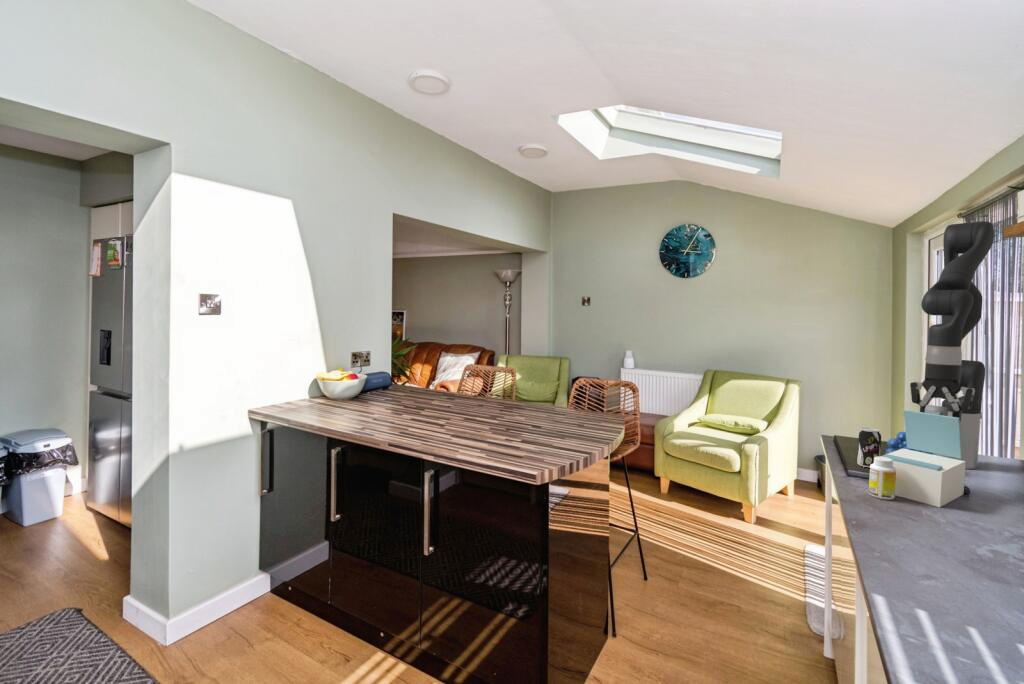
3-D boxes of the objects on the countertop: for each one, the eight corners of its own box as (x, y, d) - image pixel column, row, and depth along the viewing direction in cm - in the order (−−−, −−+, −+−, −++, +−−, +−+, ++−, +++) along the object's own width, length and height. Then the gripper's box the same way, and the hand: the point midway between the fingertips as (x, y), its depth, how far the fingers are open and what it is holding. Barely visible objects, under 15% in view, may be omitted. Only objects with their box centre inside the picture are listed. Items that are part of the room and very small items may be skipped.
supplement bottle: (897, 496, 130) (899, 459, 129) (891, 502, 127) (893, 463, 126) (872, 490, 135) (874, 454, 134) (865, 495, 131) (867, 458, 130)
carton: (900, 478, 144) (902, 446, 143) (963, 494, 132) (965, 458, 131) (874, 489, 135) (876, 455, 135) (939, 507, 123) (942, 469, 123)
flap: (907, 447, 142) (915, 438, 145) (961, 458, 132) (969, 448, 135) (903, 409, 139) (912, 400, 142) (958, 417, 129) (966, 407, 132)
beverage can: (858, 468, 153) (859, 430, 152) (856, 462, 158) (857, 426, 157) (880, 471, 150) (882, 432, 149) (878, 465, 155) (880, 428, 154)
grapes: (934, 469, 152) (937, 431, 151) (931, 474, 147) (934, 435, 146) (887, 460, 160) (889, 424, 159) (883, 465, 155) (885, 428, 155)
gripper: (982, 363, 133) (978, 425, 134) (917, 359, 145) (913, 415, 146) (972, 365, 129) (968, 428, 130) (906, 360, 141) (902, 418, 142)
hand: (939, 421), depth 138 cm, fingers open, 6 cm apart
